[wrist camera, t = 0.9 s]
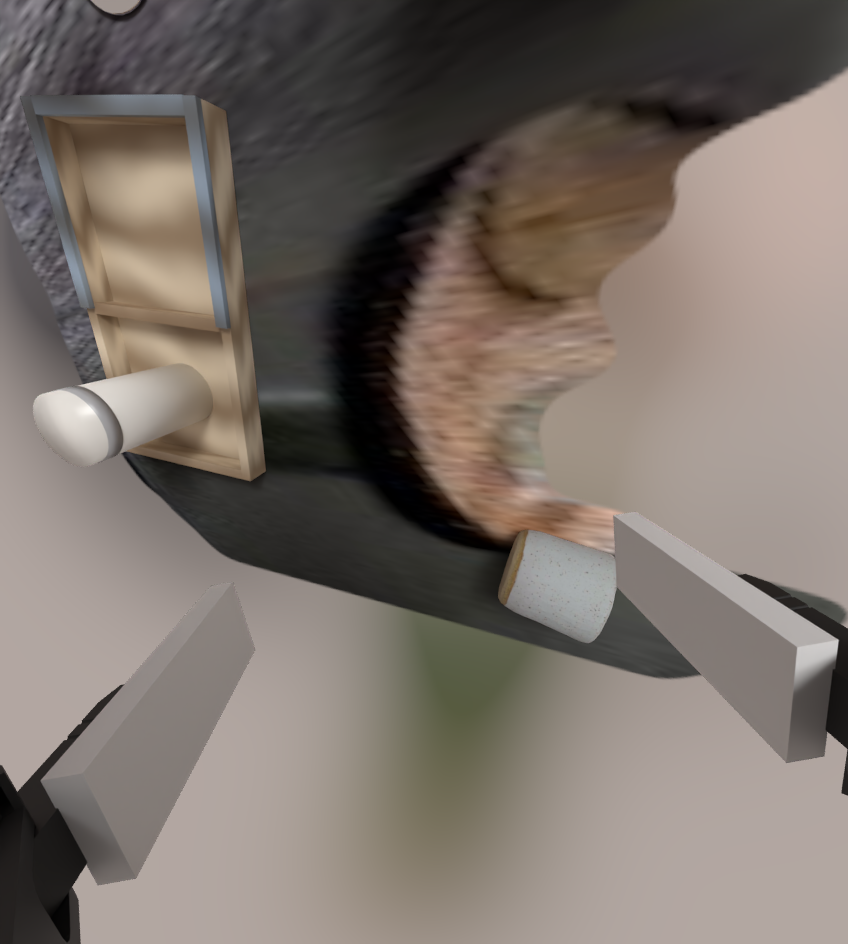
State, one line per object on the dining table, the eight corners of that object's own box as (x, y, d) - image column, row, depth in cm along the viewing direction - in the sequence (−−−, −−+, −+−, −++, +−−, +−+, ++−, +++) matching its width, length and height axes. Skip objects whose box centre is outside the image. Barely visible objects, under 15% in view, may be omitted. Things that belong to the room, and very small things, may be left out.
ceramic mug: (521, 509, 37) (513, 562, 30) (614, 537, 35) (626, 599, 29) (493, 592, 42) (480, 652, 35) (572, 619, 40) (574, 688, 34)
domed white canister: (157, 358, 41) (21, 386, 30) (208, 367, 39) (83, 399, 29) (170, 415, 43) (48, 459, 33) (217, 425, 42) (106, 474, 32)
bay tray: (61, 109, 33) (19, 95, 31) (226, 110, 30) (194, 94, 27) (146, 443, 47) (122, 452, 44) (266, 471, 43) (247, 483, 41)
